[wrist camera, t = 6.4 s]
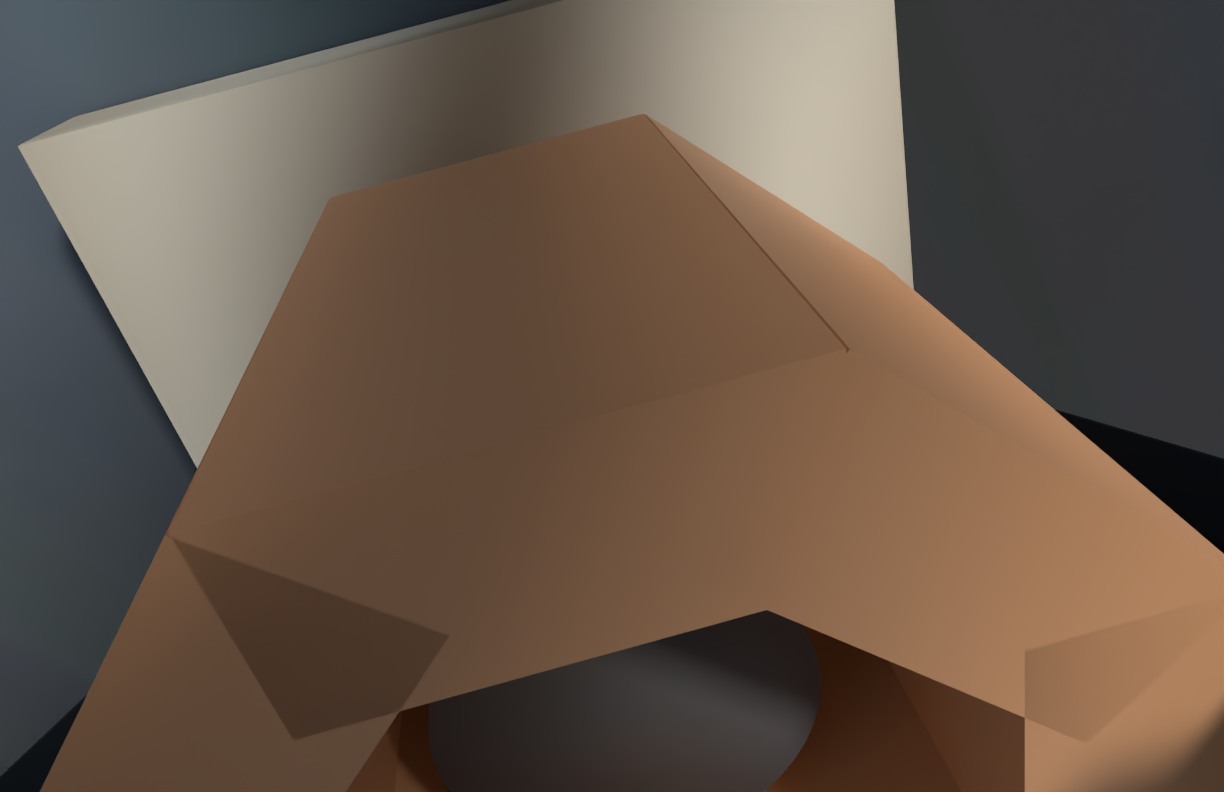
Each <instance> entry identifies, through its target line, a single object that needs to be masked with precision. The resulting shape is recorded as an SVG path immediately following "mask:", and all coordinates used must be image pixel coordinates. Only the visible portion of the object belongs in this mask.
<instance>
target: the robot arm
mask: <svg viewBox="0 0 1224 792" xmlns="http://www.w3.org/2000/svg"><path fill="white" fill-rule="evenodd" d="M1054 410H1055V409H1054ZM1055 411H1056V412H1058V413H1059V414H1060V415H1061V416H1062V417H1064V418H1065V419H1066V420H1067V421H1068V422H1069V423H1071V424H1072V425H1073V426H1074V427H1075V428H1076V429H1078V430H1079V431H1080V432H1081V433H1082V434H1084V435H1085V436H1086V437H1087V438H1088V439H1089V440H1091V441H1092V442H1093V443H1094V444H1095V445H1096V446H1098V447H1099V448H1100V449H1101V450H1102V451H1103V452H1105V453H1106V454H1107V455H1108V456H1109V457H1111V458H1112V459H1113V460H1114V461H1115V462H1116V463H1118V464H1119V465H1120V466H1121V467H1122V468H1123V469H1125V470H1126V471H1127V472H1128V473H1129V474H1131V475H1132V476H1133V477H1134V478H1135V479H1136V480H1138V481H1139V482H1140V483H1141V484H1142V485H1143V486H1145V487H1146V488H1147V489H1148V490H1149V491H1150V492H1152V493H1153V494H1154V495H1155V496H1156V497H1158V498H1159V499H1160V500H1161V501H1162V502H1163V503H1165V504H1166V505H1167V506H1168V507H1169V508H1170V509H1172V510H1173V511H1174V512H1175V513H1176V514H1178V515H1179V516H1180V517H1181V518H1182V519H1183V520H1185V521H1186V522H1187V523H1188V524H1189V525H1190V526H1192V527H1193V528H1194V529H1195V530H1196V531H1197V532H1199V533H1200V534H1201V535H1202V536H1203V537H1205V538H1206V539H1207V540H1208V541H1209V542H1210V543H1212V544H1213V545H1214V546H1215V547H1216V548H1217V549H1219V550H1220V551H1221V552H1222V553H1223V554H1224V459H1223V458H1220V457H1216V456H1213V455H1209V454H1206V453H1203V452H1199V451H1196V450H1192V449H1189V448H1185V447H1182V446H1179V445H1175V444H1172V443H1168V442H1165V441H1161V440H1158V439H1155V438H1151V437H1148V436H1144V435H1141V434H1137V433H1134V432H1131V431H1127V430H1124V429H1120V428H1117V427H1113V426H1110V425H1107V424H1103V423H1100V422H1096V421H1093V420H1089V419H1086V418H1083V417H1079V416H1076V415H1072V414H1069V413H1065V412H1062V411H1058V410H1055ZM86 696H87V695H86ZM86 696H85V697H84V698H83V699H82V700H81V701H80V702H79V703H78V704H77V705H76V706H75V707H73V708H72V709H71V710H70V711H69V712H68V713H67V714H66V715H65V716H64V717H63V718H62V719H61V720H60V721H59V722H58V723H57V724H55V725H54V726H53V727H52V728H51V729H50V730H49V731H48V732H47V733H46V734H45V735H44V736H43V737H42V738H41V739H40V740H39V741H37V742H36V743H35V744H34V745H33V746H32V747H31V748H30V749H29V750H28V751H27V752H26V753H25V754H24V755H23V756H22V757H21V758H19V759H18V760H17V761H16V762H15V763H14V764H13V765H12V766H11V767H10V768H9V769H8V770H7V771H6V772H5V773H4V774H3V775H1V776H0V792H40V790H41V788H42V786H43V784H44V782H45V780H46V778H47V776H48V774H49V772H50V770H51V768H52V766H53V764H54V762H55V759H56V757H57V755H58V753H59V751H60V749H61V747H62V745H63V743H64V741H65V739H66V737H67V735H68V733H69V731H70V729H71V727H72V725H73V723H74V721H75V718H76V716H77V714H78V712H79V710H80V708H81V706H82V704H83V702H84V700H85V698H86Z"/></svg>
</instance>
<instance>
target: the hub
mask: <svg viewBox="0 0 1224 792" xmlns="http://www.w3.org/2000/svg"><path fill="white" fill-rule="evenodd" d="M765 610H769V611H771V612H773V613H776V614H778V615H780V616H783V617H785V618H788V619H790V620H792V621H795V622H797V623H800V624H802V625H803V626H804V628H805V630H806V632H807V634H808V636H809V638H810V640H811V643H812V645H813V647H814V649H815V651H816V655H817V659H818V663H819V667H820V676H821V694H820V703H819V708H818V711H817V715H816V719H815V722H814V725H813V727H812V729H811V731H810V734H809V736H808V738H807V740H806V742H805V744H804V745H803V747H802V748H801V750H800V752H799V753H798V755H797V756H796V758H795V759H794V760H793V762H792V763H791V764H790V765H789V766H788V768H787V769H786V770H785V771H784V773H783V774H782V775H781V776H780V777H779V778H778V779H777V780H776V781H775V782H774V783H773V784H772V785H771V786H770V787H769V788H767V789H766V790H765V791H764V792H1224V554H1223V553H1222V552H1221V551H1220V550H1219V549H1217V548H1216V547H1215V546H1214V545H1213V544H1212V543H1210V542H1209V541H1208V540H1207V539H1206V538H1205V537H1203V536H1202V535H1201V534H1200V533H1199V532H1197V531H1196V530H1195V529H1194V528H1193V527H1192V526H1190V525H1189V524H1188V523H1187V522H1186V521H1185V520H1183V519H1182V518H1181V517H1180V516H1179V515H1178V514H1176V513H1175V512H1174V511H1173V510H1172V509H1170V508H1169V507H1168V506H1167V505H1166V504H1165V503H1163V502H1162V501H1161V500H1160V499H1159V498H1158V497H1156V496H1155V495H1154V494H1153V493H1152V492H1150V491H1149V490H1148V489H1147V488H1146V487H1145V486H1143V485H1142V484H1141V483H1140V482H1139V481H1138V480H1136V479H1135V478H1134V477H1133V476H1132V475H1131V474H1129V473H1128V472H1127V471H1126V470H1125V469H1123V468H1122V467H1121V466H1120V465H1119V464H1118V463H1116V462H1115V461H1114V460H1113V459H1112V458H1111V457H1109V456H1108V455H1107V454H1106V453H1105V452H1103V451H1102V450H1101V449H1100V448H1099V447H1098V446H1096V445H1095V444H1094V443H1093V442H1092V441H1091V440H1089V439H1088V438H1087V437H1086V436H1085V435H1084V434H1082V433H1081V432H1080V431H1079V430H1078V429H1076V428H1075V427H1074V426H1073V425H1072V424H1071V423H1069V422H1068V421H1067V420H1066V419H1065V418H1064V417H1062V416H1061V415H1060V414H1059V413H1058V412H1056V411H1055V410H1054V409H1053V408H1052V407H1051V406H1049V405H1048V404H1047V403H1046V402H1045V401H1044V400H1042V399H1041V398H1040V397H1039V396H1038V395H1037V394H1035V393H1034V392H1033V391H1032V390H1031V389H1029V388H1028V387H1027V386H1026V385H1025V384H1024V383H1022V382H1021V381H1020V380H1019V379H1018V378H1017V377H1015V376H1014V375H1013V374H1012V373H1011V372H1009V371H1008V370H1007V369H1006V368H1005V367H1004V366H1002V365H1001V364H1000V363H999V362H998V361H997V360H995V359H994V358H993V357H992V356H991V355H990V354H988V353H987V352H986V351H985V350H984V349H982V348H981V347H980V346H979V345H978V344H977V343H975V342H974V341H973V340H972V339H971V338H970V337H968V336H967V335H966V334H965V333H964V332H962V331H961V330H960V329H959V328H958V327H957V326H955V325H954V324H953V323H952V322H951V321H950V320H948V319H947V318H946V317H945V316H944V315H943V314H941V313H940V312H939V311H938V310H937V309H935V308H934V307H933V306H932V305H931V304H930V303H928V302H927V301H926V300H925V299H924V298H923V297H921V296H920V295H919V294H918V293H917V292H915V291H914V290H913V289H912V288H911V287H910V286H908V285H907V284H906V283H905V282H904V281H903V280H901V279H900V278H899V277H898V276H897V275H896V274H894V273H893V272H892V271H891V270H890V269H888V268H887V267H886V266H885V265H884V264H883V263H881V262H880V261H878V260H876V259H875V258H873V257H872V256H870V255H869V254H867V253H865V252H864V251H862V250H861V249H859V248H857V247H856V246H854V245H853V244H851V243H850V242H848V241H846V240H845V239H843V238H842V237H840V236H838V235H837V234H835V233H834V232H832V231H830V230H829V229H827V228H826V227H824V226H823V225H821V224H819V223H818V222H816V221H815V220H813V219H811V218H810V217H808V216H807V215H805V214H803V213H802V212H800V211H799V210H797V209H796V208H794V207H792V206H791V205H789V204H788V203H786V202H784V201H783V200H781V199H780V198H778V197H777V196H775V195H773V194H772V193H770V192H769V191H767V190H765V189H764V188H762V187H761V186H759V185H757V184H756V183H754V182H753V181H751V180H750V179H748V178H746V177H745V176H743V175H742V174H740V173H738V172H737V171H735V170H734V169H732V168H730V167H729V166H727V165H726V164H724V163H723V162H721V161H719V160H718V159H716V158H715V157H713V156H711V155H710V154H708V153H707V152H705V151H704V150H702V149H700V148H699V147H697V146H696V145H694V144H692V143H691V142H689V141H688V140H686V139H684V138H683V137H681V136H680V135H678V134H677V133H675V132H673V131H672V130H670V129H669V128H667V127H665V126H664V125H662V124H661V123H659V122H657V121H656V120H654V119H653V118H651V117H650V116H648V115H646V114H645V115H644V114H639V115H636V116H632V117H628V118H624V119H621V120H617V121H613V122H609V123H606V124H602V125H598V126H595V127H591V128H587V129H583V130H580V131H576V132H572V133H569V134H565V135H561V136H557V137H554V138H550V139H546V140H542V141H539V142H535V143H531V144H528V145H524V146H520V147H516V148H513V149H509V150H505V151H502V152H498V153H494V154H490V155H487V156H483V157H479V158H475V159H472V160H468V161H464V162H461V163H457V164H453V165H449V166H446V167H442V168H438V169H435V170H431V171H427V172H423V173H420V174H416V175H412V176H408V177H405V178H401V179H397V180H394V181H390V182H386V183H382V184H379V185H375V186H371V187H368V188H364V189H360V190H356V191H353V192H349V193H345V194H341V195H338V196H334V197H331V198H330V199H329V200H328V202H327V204H326V206H325V209H324V211H323V213H322V215H321V217H320V219H319V221H318V223H317V225H316V227H315V229H314V231H313V233H312V235H311V237H310V239H309V241H308V243H307V245H306V247H305V249H304V252H303V254H302V256H301V258H300V260H299V262H298V264H297V266H296V268H295V270H294V272H293V274H292V276H291V278H290V280H289V282H288V284H287V286H286V288H285V290H284V292H283V294H282V297H281V299H280V301H279V303H278V305H277V307H276V309H275V311H274V313H273V315H272V317H271V319H270V321H269V323H268V325H267V327H266V329H265V331H264V333H263V335H262V337H261V340H260V342H259V344H258V346H257V348H256V350H255V352H254V354H253V356H252V358H251V360H250V362H249V364H248V366H247V368H246V370H245V372H244V374H243V376H242V378H241V380H240V382H239V385H238V387H237V389H236V391H235V393H234V395H233V397H232V399H231V401H230V403H229V405H228V407H227V409H226V411H225V413H224V415H223V417H222V419H221V421H220V423H219V425H218V428H217V430H216V432H215V434H214V436H213V438H212V440H211V442H210V444H209V446H208V448H207V450H206V452H205V454H204V456H203V458H202V460H201V462H200V464H199V466H198V468H197V471H196V473H195V475H194V477H193V479H192V481H191V483H190V485H189V487H188V489H187V491H186V493H185V495H184V497H183V499H182V501H181V503H180V505H179V507H178V509H177V512H176V514H175V516H174V518H173V520H172V522H171V524H170V526H169V528H168V530H167V532H166V534H165V536H164V538H163V540H162V542H161V544H160V546H159V548H158V550H157V552H156V555H155V557H154V559H153V561H152V563H151V565H150V567H149V569H148V571H147V573H146V575H145V577H144V579H143V581H142V583H141V585H140V587H139V589H138V591H137V593H136V596H135V598H134V600H133V602H132V604H131V606H130V608H129V610H128V612H127V614H126V616H125V618H124V620H123V622H122V624H121V626H120V628H119V630H118V632H117V634H116V637H115V639H114V641H113V643H112V645H111V647H110V649H109V651H108V653H107V655H106V657H105V659H104V661H103V663H102V665H101V667H100V669H99V671H98V673H97V675H96V677H95V680H94V682H93V684H92V686H91V688H90V690H89V692H88V694H87V696H86V698H85V700H84V702H83V704H82V706H81V708H80V710H79V712H78V714H77V716H76V718H75V721H74V723H73V725H72V727H71V729H70V731H69V733H68V735H67V737H66V739H65V741H64V743H63V745H62V747H61V749H60V751H59V753H58V755H57V757H56V759H55V762H54V764H53V766H52V768H51V770H50V772H49V774H48V776H47V778H46V780H45V782H44V784H43V786H42V788H41V790H40V792H449V791H448V789H447V788H446V786H445V784H444V783H443V781H442V780H441V778H440V776H439V775H438V772H437V770H436V767H435V764H434V762H433V759H432V756H431V751H430V745H429V740H428V719H429V703H431V702H435V701H439V700H442V699H446V698H449V697H453V696H457V695H460V694H464V693H468V692H471V691H475V690H478V689H482V688H486V687H489V686H493V685H497V684H500V683H504V682H507V681H511V680H515V679H518V678H522V677H526V676H529V675H533V674H536V673H540V672H544V671H547V670H551V669H555V668H558V667H562V666H566V665H569V664H573V663H576V662H580V661H584V660H587V659H591V658H595V657H598V656H602V655H605V654H609V653H613V652H616V651H620V650H624V649H627V648H631V647H634V646H638V645H642V644H645V643H649V642H653V641H656V640H660V639H663V638H667V637H671V636H674V635H678V634H682V633H685V632H689V631H692V630H696V629H700V628H703V627H707V626H711V625H714V624H718V623H721V622H725V621H729V620H732V619H736V618H740V617H743V616H747V615H750V614H754V613H758V612H761V611H765Z"/></svg>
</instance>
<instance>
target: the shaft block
mask: <svg viewBox="0 0 1224 792" xmlns="http://www.w3.org/2000/svg"><path fill="white" fill-rule="evenodd" d="M639 114H644V115H645V114H646V115H648V116H650V117H651V118H653V119H654V120H656V121H657V122H659V123H661V124H662V125H664V126H665V127H667V128H669V129H670V130H672V131H673V132H675V133H677V134H678V135H680V136H681V137H683V138H684V139H686V140H688V141H689V142H691V143H692V144H694V145H696V146H697V147H699V148H700V149H702V150H704V151H705V152H707V153H708V154H710V155H711V156H713V157H715V158H716V159H718V160H719V161H721V162H723V163H724V164H726V165H727V166H729V167H730V168H732V169H734V170H735V171H737V172H738V173H740V174H742V175H743V176H745V177H746V178H748V179H750V180H751V181H753V182H754V183H756V184H757V185H759V186H761V187H762V188H764V189H765V190H767V191H769V192H770V193H772V194H773V195H775V196H777V197H778V198H780V199H781V200H783V201H784V202H786V203H788V204H789V205H791V206H792V207H794V208H796V209H797V210H799V211H800V212H802V213H803V214H805V215H807V216H808V217H810V218H811V219H813V220H815V221H816V222H818V223H819V224H821V225H823V226H824V227H826V228H827V229H829V230H830V231H832V232H834V233H835V234H837V235H838V236H840V237H842V238H843V239H845V240H846V241H848V242H850V243H851V244H853V245H854V246H856V247H857V248H859V249H861V250H862V251H864V252H865V253H867V254H869V255H870V256H872V257H873V258H875V259H876V260H878V261H880V262H881V263H883V264H884V265H885V266H886V267H887V268H888V269H890V270H891V271H892V272H893V273H894V274H896V275H897V276H898V277H899V278H900V279H901V280H903V281H904V282H905V283H906V284H907V285H908V286H910V287H911V288H912V289H913V274H912V259H911V244H910V229H909V215H908V200H907V185H906V170H905V155H904V141H903V126H902V111H901V96H900V81H899V67H898V52H897V37H896V22H895V7H894V0H510V1H506V2H503V3H499V4H495V5H491V6H488V7H484V8H480V9H476V10H473V11H469V12H465V13H461V14H458V15H454V16H450V17H446V18H443V19H439V20H435V21H431V22H428V23H424V24H420V25H416V26H413V27H409V28H405V29H401V30H398V31H394V32H390V33H386V34H383V35H379V36H375V37H371V38H368V39H364V40H360V41H356V42H353V43H349V44H345V45H341V46H338V47H334V48H330V49H326V50H323V51H319V52H315V53H311V54H308V55H304V56H300V57H296V58H293V59H289V60H285V61H281V62H278V63H274V64H270V65H266V66H263V67H259V68H255V69H251V70H248V71H244V72H240V73H236V74H233V75H229V76H225V77H221V78H218V79H214V80H210V81H206V82H203V83H199V84H195V85H191V86H188V87H184V88H180V89H176V90H173V91H169V92H165V93H161V94H158V95H154V96H150V97H146V98H143V99H139V100H135V101H131V102H128V103H124V104H120V105H116V106H113V107H109V108H105V109H101V110H98V111H94V112H90V113H86V114H83V115H79V116H75V117H73V118H71V119H69V120H67V121H65V122H64V123H62V124H60V125H58V126H56V127H54V128H52V129H50V130H48V131H46V132H44V133H42V134H40V135H38V136H36V137H34V138H32V139H30V140H28V141H27V142H25V143H23V144H21V145H19V146H18V147H19V149H20V151H21V153H22V155H23V156H24V158H25V160H26V162H27V164H28V165H29V167H30V169H31V171H32V173H33V174H34V176H35V178H36V180H37V182H38V183H39V185H40V187H41V189H42V191H43V192H44V194H45V196H46V198H47V200H48V201H49V203H50V205H51V207H52V209H53V210H54V212H55V214H56V216H57V218H58V219H59V221H60V223H61V225H62V227H63V228H64V230H65V232H66V234H67V236H68V237H69V239H70V241H71V243H72V244H73V246H74V248H75V250H76V252H77V253H78V255H79V257H80V259H81V261H82V262H83V264H84V266H85V268H86V270H87V271H88V273H89V275H90V277H91V279H92V280H93V282H94V284H95V286H96V288H97V289H98V291H99V293H100V295H101V297H102V298H103V300H104V302H105V304H106V306H107V307H108V309H109V311H110V313H111V315H112V316H113V318H114V320H115V322H116V324H117V325H118V327H119V329H120V331H121V333H122V334H123V336H124V338H125V340H126V342H127V343H128V345H129V347H130V349H131V350H132V352H133V354H134V356H135V358H136V359H137V361H138V363H139V365H140V367H141V368H142V370H143V372H144V374H145V376H146V377H147V379H148V381H149V383H150V385H151V386H152V388H153V390H154V392H155V394H156V395H157V397H158V399H159V401H160V403H161V404H162V406H163V408H164V410H165V412H166V413H167V415H168V417H169V419H170V421H171V422H172V424H173V426H174V428H175V430H176V431H177V433H178V435H179V437H180V439H181V440H182V442H183V444H184V446H185V447H186V449H187V451H188V453H189V455H190V456H191V458H192V460H193V462H194V464H195V465H196V467H197V468H198V466H199V464H200V462H201V460H202V458H203V456H204V454H205V452H206V450H207V448H208V446H209V444H210V442H211V440H212V438H213V436H214V434H215V432H216V430H217V428H218V425H219V423H220V421H221V419H222V417H223V415H224V413H225V411H226V409H227V407H228V405H229V403H230V401H231V399H232V397H233V395H234V393H235V391H236V389H237V387H238V385H239V382H240V380H241V378H242V376H243V374H244V372H245V370H246V368H247V366H248V364H249V362H250V360H251V358H252V356H253V354H254V352H255V350H256V348H257V346H258V344H259V342H260V340H261V337H262V335H263V333H264V331H265V329H266V327H267V325H268V323H269V321H270V319H271V317H272V315H273V313H274V311H275V309H276V307H277V305H278V303H279V301H280V299H281V297H282V294H283V292H284V290H285V288H286V286H287V284H288V282H289V280H290V278H291V276H292V274H293V272H294V270H295V268H296V266H297V264H298V262H299V260H300V258H301V256H302V254H303V252H304V249H305V247H306V245H307V243H308V241H309V239H310V237H311V235H312V233H313V231H314V229H315V227H316V225H317V223H318V221H319V219H320V217H321V215H322V213H323V211H324V209H325V206H326V204H327V202H328V200H329V199H330V198H331V197H334V196H338V195H341V194H345V193H349V192H353V191H356V190H360V189H364V188H368V187H371V186H375V185H379V184H382V183H386V182H390V181H394V180H397V179H401V178H405V177H408V176H412V175H416V174H420V173H423V172H427V171H431V170H435V169H438V168H442V167H446V166H449V165H453V164H457V163H461V162H464V161H468V160H472V159H475V158H479V157H483V156H487V155H490V154H494V153H498V152H502V151H505V150H509V149H513V148H516V147H520V146H524V145H528V144H531V143H535V142H539V141H542V140H546V139H550V138H554V137H557V136H561V135H565V134H569V133H572V132H576V131H580V130H583V129H587V128H591V127H595V126H598V125H602V124H606V123H609V122H613V121H617V120H621V119H624V118H628V117H632V116H636V115H639ZM913 290H914V289H913ZM820 694H821V676H820V667H819V663H818V659H817V655H816V651H815V649H814V647H813V645H812V643H811V640H810V638H809V636H808V634H807V632H806V630H805V628H804V626H803V625H802V624H800V623H797V622H795V621H792V620H790V619H788V618H785V617H783V616H780V615H778V614H776V613H773V612H771V611H769V610H765V611H761V612H758V613H754V614H750V615H747V616H743V617H740V618H736V619H732V620H729V621H725V622H721V623H718V624H714V625H711V626H707V627H703V628H700V629H696V630H692V631H689V632H685V633H682V634H678V635H674V636H671V637H667V638H663V639H660V640H656V641H653V642H649V643H645V644H642V645H638V646H634V647H631V648H627V649H624V650H620V651H616V652H613V653H609V654H605V655H602V656H598V657H595V658H591V659H587V660H584V661H580V662H576V663H573V664H569V665H566V666H562V667H558V668H555V669H551V670H547V671H544V672H540V673H536V674H533V675H529V676H526V677H522V678H518V679H515V680H511V681H507V682H504V683H500V684H497V685H493V686H489V687H486V688H482V689H478V690H475V691H471V692H468V693H464V694H460V695H457V696H453V697H449V698H446V699H442V700H439V701H435V702H431V703H429V719H428V740H429V745H430V751H431V756H432V759H433V762H434V764H435V767H436V770H437V772H438V775H439V776H440V778H441V780H442V781H443V783H444V784H445V786H446V788H447V789H448V791H449V792H764V791H765V790H766V789H767V788H769V787H770V786H771V785H772V784H773V783H774V782H775V781H776V780H777V779H778V778H779V777H780V776H781V775H782V774H783V773H784V771H785V770H786V769H787V768H788V766H789V765H790V764H791V763H792V762H793V760H794V759H795V758H796V756H797V755H798V753H799V752H800V750H801V748H802V747H803V745H804V744H805V742H806V740H807V738H808V736H809V734H810V731H811V729H812V727H813V725H814V722H815V719H816V715H817V711H818V708H819V703H820Z"/></svg>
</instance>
